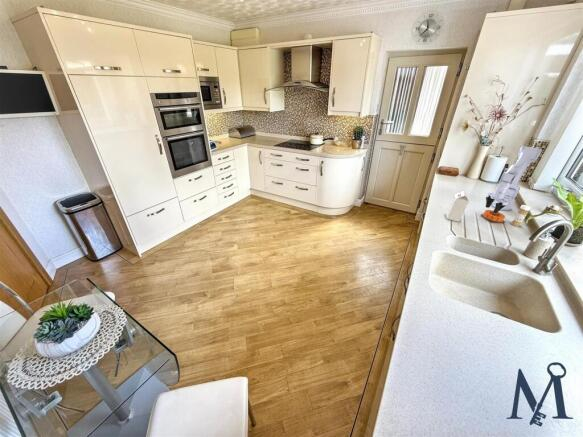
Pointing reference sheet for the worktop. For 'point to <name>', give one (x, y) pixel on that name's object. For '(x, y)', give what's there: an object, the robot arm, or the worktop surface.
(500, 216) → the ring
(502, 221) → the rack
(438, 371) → the worktop surface
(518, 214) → the sprinkles bottle
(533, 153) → the robot arm
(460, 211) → the milk carton
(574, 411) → the worktop surface
